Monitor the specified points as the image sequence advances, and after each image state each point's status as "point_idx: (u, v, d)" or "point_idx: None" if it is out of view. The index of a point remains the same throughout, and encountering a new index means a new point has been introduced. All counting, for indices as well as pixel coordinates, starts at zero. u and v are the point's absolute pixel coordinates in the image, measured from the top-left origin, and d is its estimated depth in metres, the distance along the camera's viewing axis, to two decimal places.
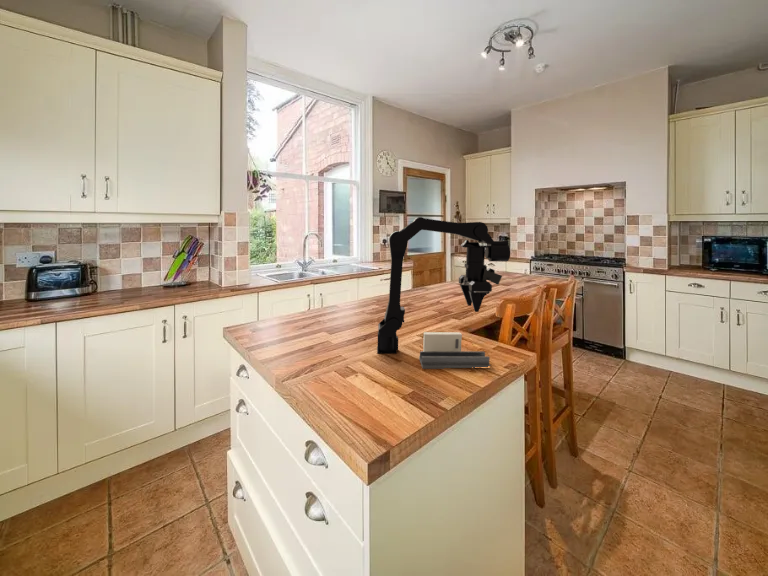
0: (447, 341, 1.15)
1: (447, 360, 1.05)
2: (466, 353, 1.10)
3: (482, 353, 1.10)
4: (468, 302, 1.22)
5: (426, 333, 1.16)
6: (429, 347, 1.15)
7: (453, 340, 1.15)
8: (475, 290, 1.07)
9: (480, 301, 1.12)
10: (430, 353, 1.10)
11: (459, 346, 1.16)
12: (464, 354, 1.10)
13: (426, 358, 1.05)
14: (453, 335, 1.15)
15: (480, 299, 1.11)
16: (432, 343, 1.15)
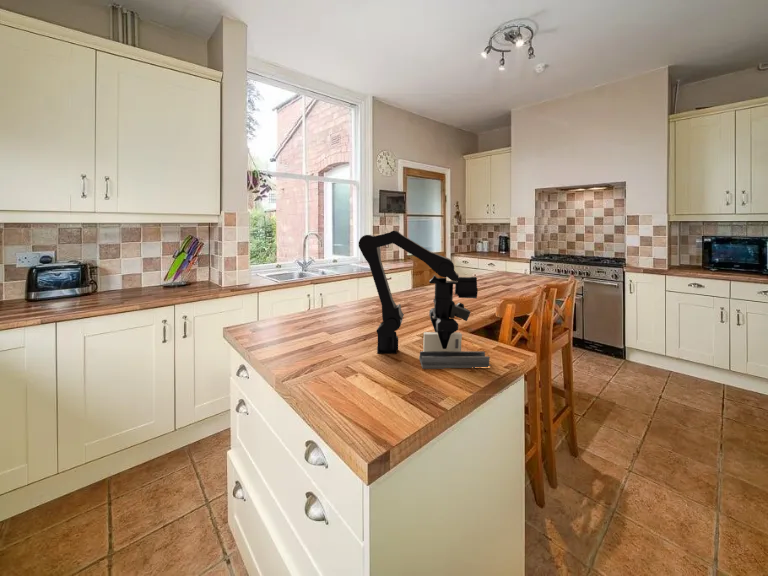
0: None
1: (447, 360, 1.05)
2: (466, 353, 1.10)
3: (482, 353, 1.10)
4: None
5: (426, 333, 1.16)
6: (429, 347, 1.15)
7: (453, 340, 1.15)
8: (441, 329, 1.06)
9: (447, 338, 1.10)
10: (430, 353, 1.10)
11: (459, 346, 1.16)
12: (464, 354, 1.10)
13: (426, 358, 1.05)
14: (453, 335, 1.15)
15: (447, 336, 1.10)
16: (432, 343, 1.15)
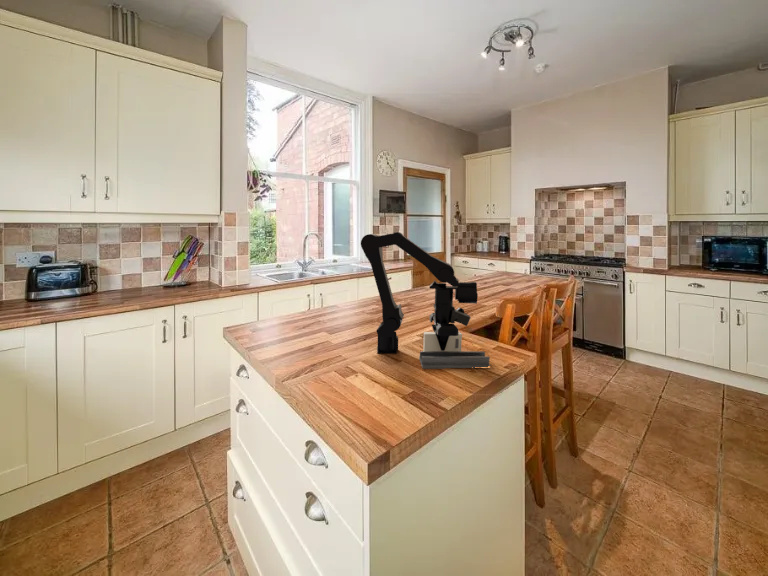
0: (447, 341, 1.15)
1: (447, 360, 1.05)
2: (466, 353, 1.10)
3: (482, 353, 1.10)
4: None
5: (426, 333, 1.16)
6: (429, 347, 1.15)
7: (453, 339, 1.15)
8: (441, 334, 1.06)
9: (446, 340, 1.14)
10: (430, 353, 1.10)
11: (459, 346, 1.16)
12: (464, 354, 1.10)
13: (426, 358, 1.05)
14: None
15: (445, 339, 1.14)
16: (432, 343, 1.15)
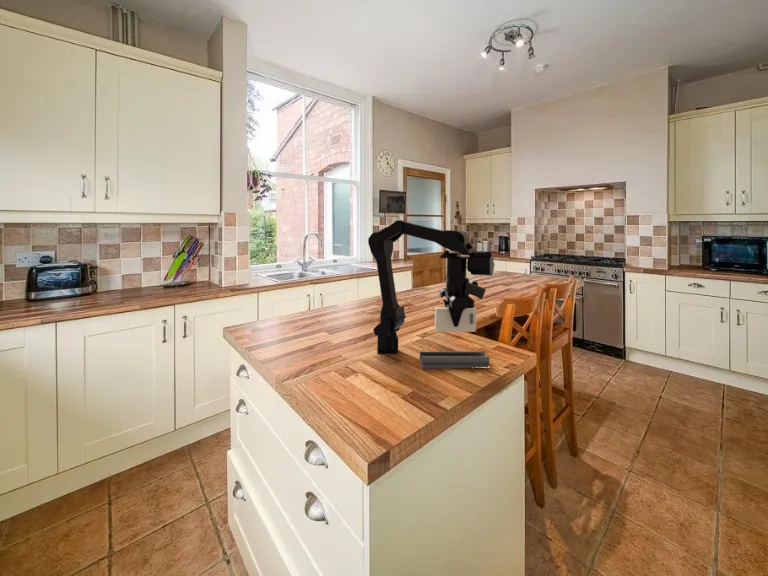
0: None
1: (447, 360, 1.05)
2: (466, 353, 1.10)
3: (482, 353, 1.10)
4: None
5: (438, 308, 1.06)
6: (441, 323, 1.06)
7: (468, 314, 1.06)
8: (456, 307, 0.97)
9: (459, 315, 1.04)
10: (430, 353, 1.10)
11: (474, 321, 1.06)
12: (464, 354, 1.10)
13: (426, 358, 1.05)
14: (467, 309, 1.05)
15: (459, 313, 1.04)
16: (444, 319, 1.06)
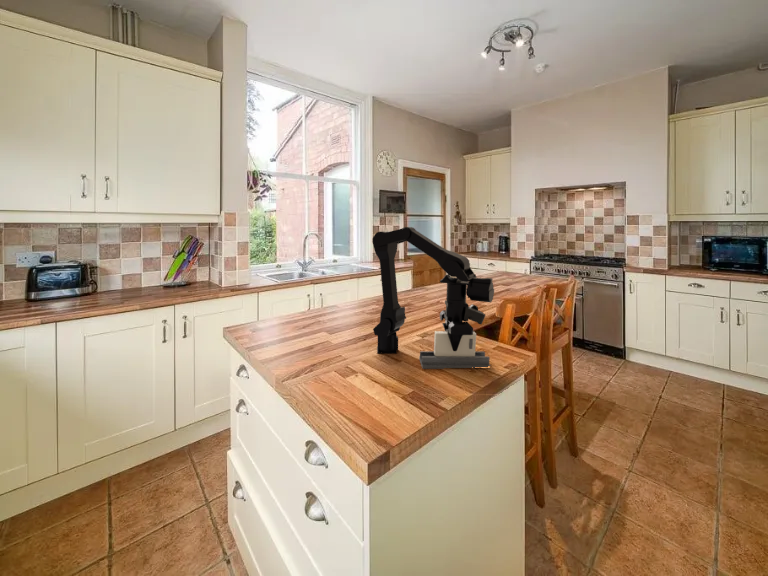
0: (460, 341, 1.06)
1: (447, 360, 1.05)
2: None
3: (482, 353, 1.10)
4: None
5: (437, 332, 1.06)
6: (441, 347, 1.06)
7: (467, 339, 1.06)
8: (454, 333, 0.97)
9: (458, 340, 1.04)
10: (430, 353, 1.10)
11: (473, 346, 1.06)
12: None
13: (426, 358, 1.05)
14: None
15: (458, 338, 1.04)
16: (444, 343, 1.06)
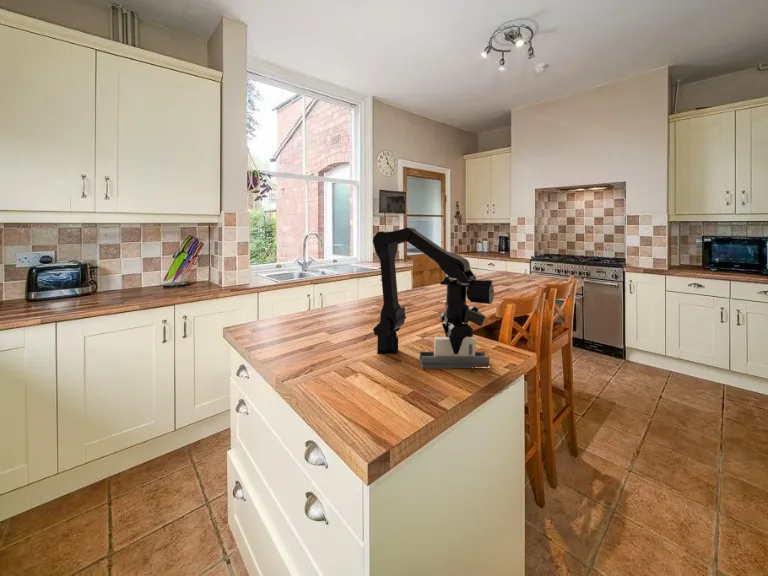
0: None
1: (447, 360, 1.05)
2: None
3: (482, 353, 1.10)
4: None
5: (437, 338, 1.07)
6: (441, 353, 1.07)
7: (467, 345, 1.06)
8: (454, 335, 0.97)
9: (459, 343, 1.03)
10: (430, 353, 1.10)
11: (473, 352, 1.07)
12: None
13: (426, 358, 1.05)
14: (467, 340, 1.06)
15: (459, 341, 1.03)
16: (444, 349, 1.06)
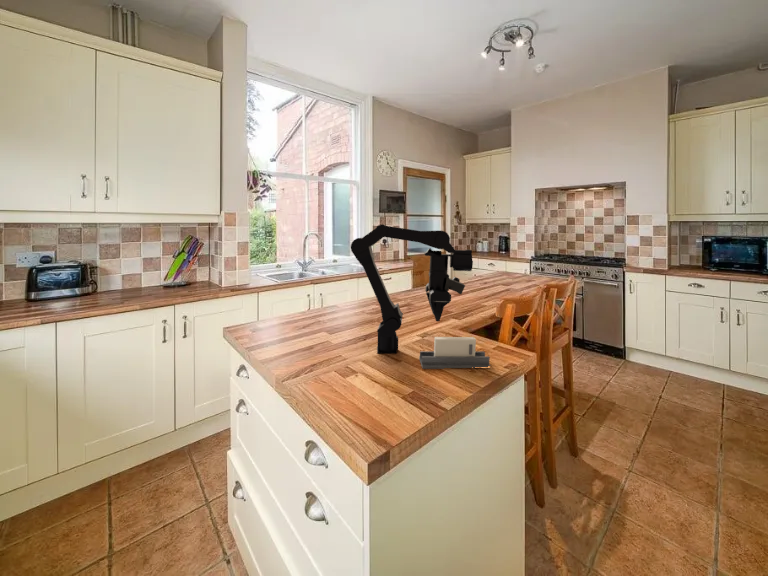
0: (459, 347, 1.06)
1: (447, 360, 1.05)
2: None
3: (482, 353, 1.10)
4: None
5: (437, 338, 1.07)
6: (441, 353, 1.07)
7: (467, 345, 1.06)
8: (434, 300, 1.06)
9: (441, 311, 1.10)
10: (430, 353, 1.10)
11: (473, 352, 1.07)
12: None
13: (426, 358, 1.05)
14: (467, 340, 1.06)
15: (440, 309, 1.10)
16: (444, 349, 1.06)
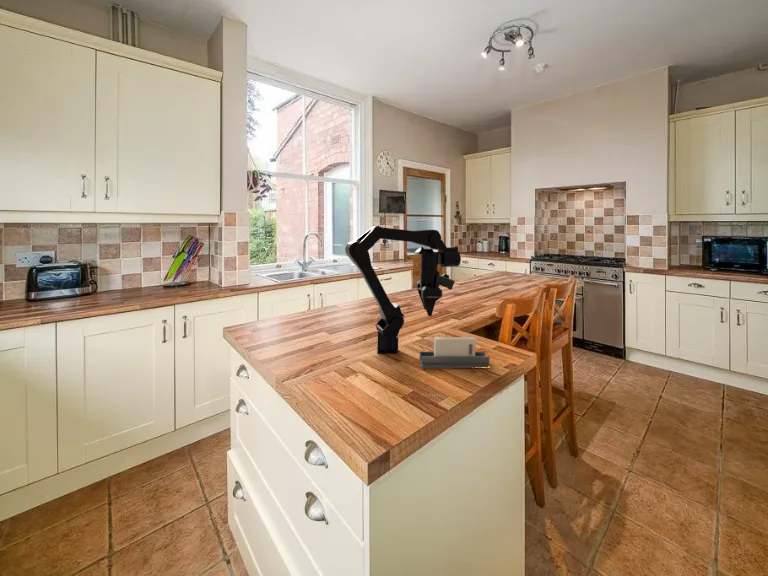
0: (459, 347, 1.06)
1: (447, 360, 1.05)
2: None
3: (482, 353, 1.10)
4: (425, 306, 1.26)
5: (437, 338, 1.07)
6: (441, 353, 1.07)
7: (467, 345, 1.06)
8: (426, 295, 1.12)
9: (432, 306, 1.16)
10: (430, 353, 1.10)
11: (473, 352, 1.07)
12: None
13: (426, 358, 1.05)
14: (467, 340, 1.06)
15: (432, 304, 1.15)
16: (444, 349, 1.06)
